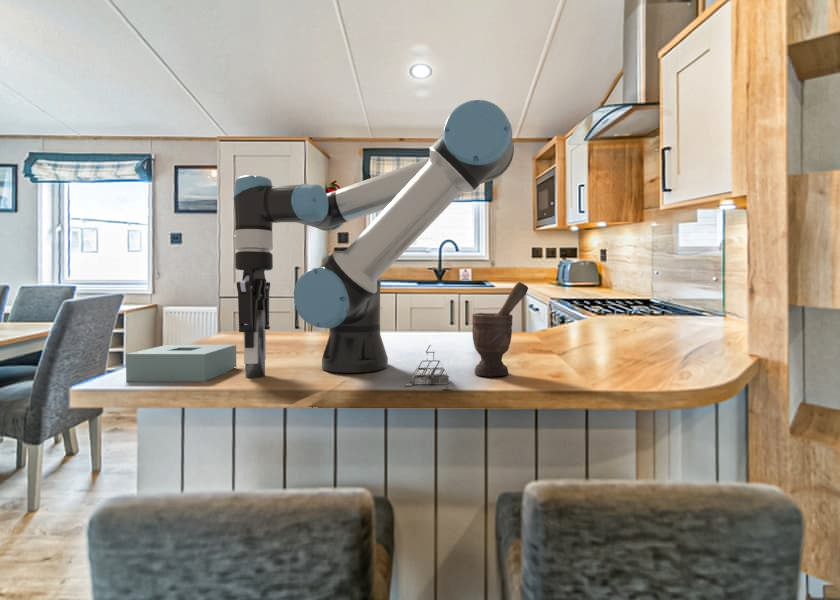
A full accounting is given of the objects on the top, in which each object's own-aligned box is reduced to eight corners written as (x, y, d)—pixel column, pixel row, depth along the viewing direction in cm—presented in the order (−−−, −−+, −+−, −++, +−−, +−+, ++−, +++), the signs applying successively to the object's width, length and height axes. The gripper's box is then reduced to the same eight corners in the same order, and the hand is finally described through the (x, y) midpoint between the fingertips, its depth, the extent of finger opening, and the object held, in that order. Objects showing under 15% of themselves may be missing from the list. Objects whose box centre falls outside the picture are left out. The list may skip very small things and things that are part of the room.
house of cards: (406, 389, 92) (405, 349, 92) (403, 381, 101) (403, 343, 101) (453, 388, 93) (453, 348, 93) (447, 380, 102) (447, 343, 101)
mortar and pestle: (523, 371, 110) (524, 282, 109) (529, 378, 101) (529, 281, 100) (471, 371, 111) (472, 282, 110) (472, 378, 102) (472, 282, 101)
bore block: (236, 368, 114) (236, 344, 114) (204, 381, 98) (204, 354, 98) (168, 368, 115) (168, 344, 115) (126, 381, 99) (125, 353, 99)
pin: (268, 374, 106) (268, 310, 105) (258, 378, 102) (257, 310, 102) (252, 374, 107) (251, 309, 106) (241, 377, 103) (240, 310, 103)
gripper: (251, 254, 112) (252, 356, 113) (219, 248, 95) (220, 368, 96) (283, 254, 112) (284, 356, 113) (257, 248, 95) (258, 368, 96)
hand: (255, 361), depth 104 cm, fingers closed on pin, 4 cm apart
